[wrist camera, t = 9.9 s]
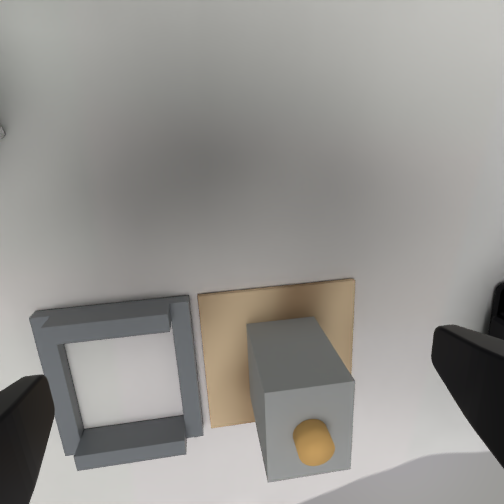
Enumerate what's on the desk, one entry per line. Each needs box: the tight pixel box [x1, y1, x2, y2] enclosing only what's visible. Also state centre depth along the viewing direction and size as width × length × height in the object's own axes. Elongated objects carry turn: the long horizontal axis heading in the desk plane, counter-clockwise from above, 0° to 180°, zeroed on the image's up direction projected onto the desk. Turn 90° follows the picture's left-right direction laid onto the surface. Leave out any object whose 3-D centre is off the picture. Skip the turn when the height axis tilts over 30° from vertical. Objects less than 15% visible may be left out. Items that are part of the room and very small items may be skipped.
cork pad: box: [198, 279, 355, 428], centre depth 23 cm, size 9×9×1 cm
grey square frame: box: [29, 295, 203, 471], centre depth 21 cm, size 8×9×2 cm
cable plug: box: [246, 316, 355, 482], centre depth 19 cm, size 4×5×7 cm
